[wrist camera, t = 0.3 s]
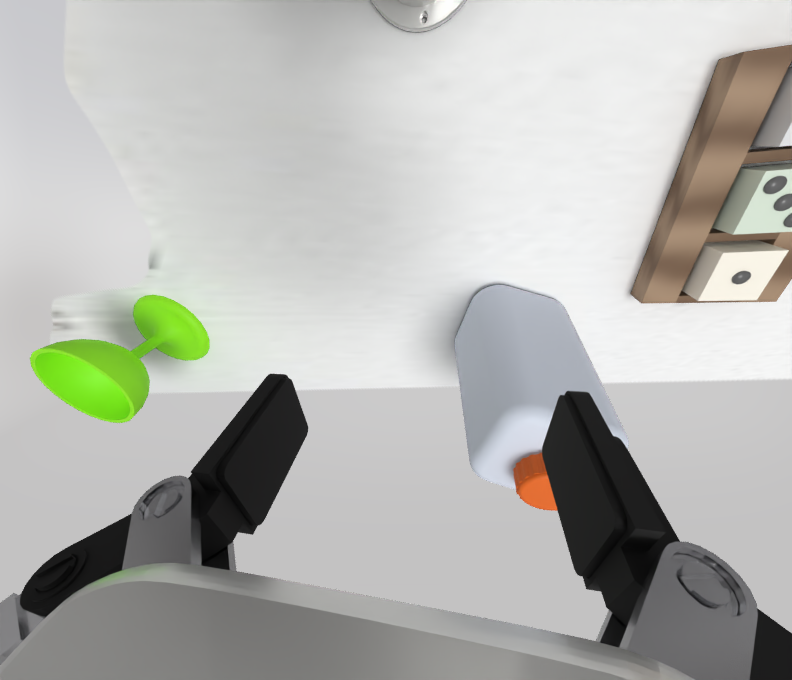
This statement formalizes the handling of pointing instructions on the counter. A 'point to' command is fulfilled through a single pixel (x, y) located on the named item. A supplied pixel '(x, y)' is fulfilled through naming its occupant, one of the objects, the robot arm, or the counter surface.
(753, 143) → the two dot tile
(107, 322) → the counter surface
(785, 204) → the three dot tile
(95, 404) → the wineglass
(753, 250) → the one dot tile
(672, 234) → the wooden tile tray
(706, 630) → the robot arm
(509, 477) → the plastic bottle
